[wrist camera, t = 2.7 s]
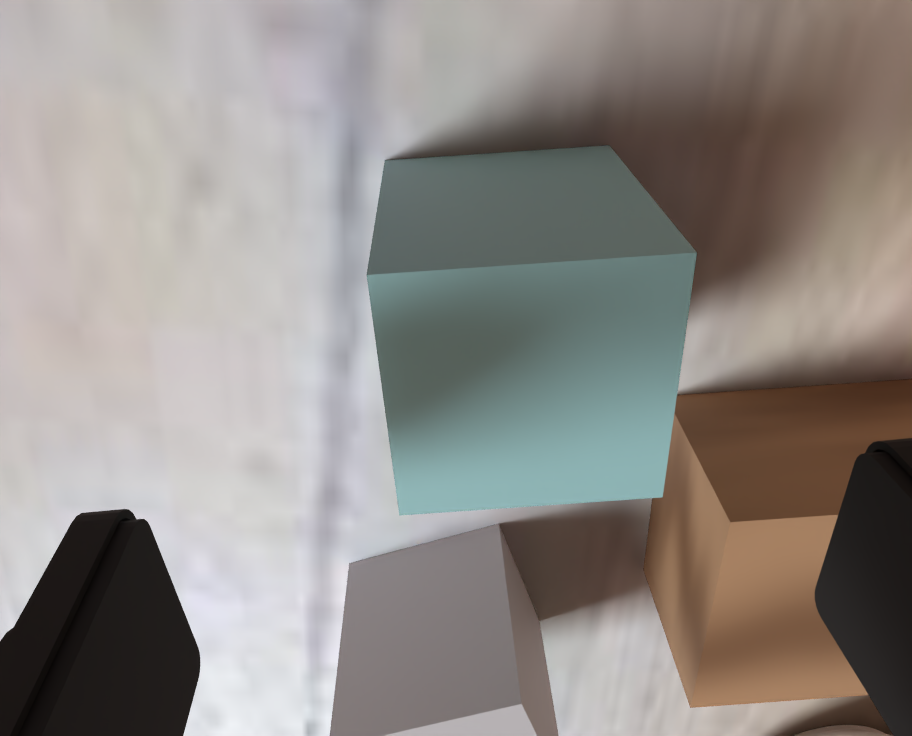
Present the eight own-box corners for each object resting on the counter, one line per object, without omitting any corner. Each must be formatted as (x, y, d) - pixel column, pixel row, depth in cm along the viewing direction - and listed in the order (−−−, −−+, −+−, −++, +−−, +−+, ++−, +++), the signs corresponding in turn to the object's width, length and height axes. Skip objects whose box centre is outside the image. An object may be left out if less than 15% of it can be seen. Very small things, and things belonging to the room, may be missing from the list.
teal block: (385, 159, 16) (366, 274, 11) (608, 144, 16) (696, 252, 11) (406, 350, 18) (399, 515, 13) (596, 337, 18) (662, 497, 13)
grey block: (349, 562, 23) (328, 748, 17) (498, 522, 22) (521, 703, 17) (404, 652, 25) (400, 837, 20) (538, 619, 24) (569, 802, 19)
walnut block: (663, 392, 20) (729, 522, 15) (914, 374, 20) (1048, 499, 15) (642, 565, 23) (690, 707, 19) (851, 550, 23) (946, 689, 19)
